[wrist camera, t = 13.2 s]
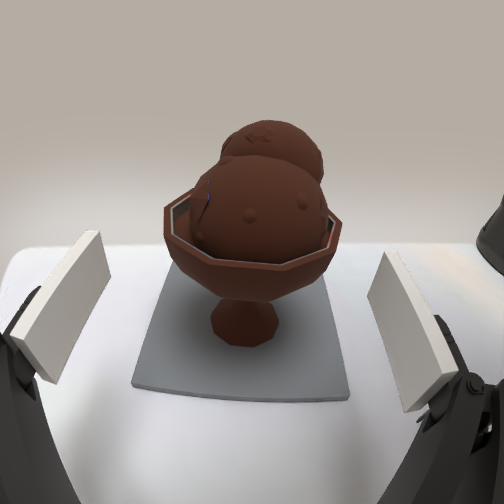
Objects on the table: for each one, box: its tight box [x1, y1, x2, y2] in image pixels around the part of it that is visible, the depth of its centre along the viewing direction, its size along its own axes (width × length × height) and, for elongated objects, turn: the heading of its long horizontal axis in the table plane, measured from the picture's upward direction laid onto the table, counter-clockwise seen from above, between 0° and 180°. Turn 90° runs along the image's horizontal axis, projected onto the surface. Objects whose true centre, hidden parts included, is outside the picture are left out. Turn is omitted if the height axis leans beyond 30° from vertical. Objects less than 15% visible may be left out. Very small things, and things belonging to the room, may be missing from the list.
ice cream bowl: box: [164, 120, 342, 347], centre depth 18 cm, size 11×11×15 cm
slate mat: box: [131, 261, 350, 402], centre depth 23 cm, size 15×14×1 cm
